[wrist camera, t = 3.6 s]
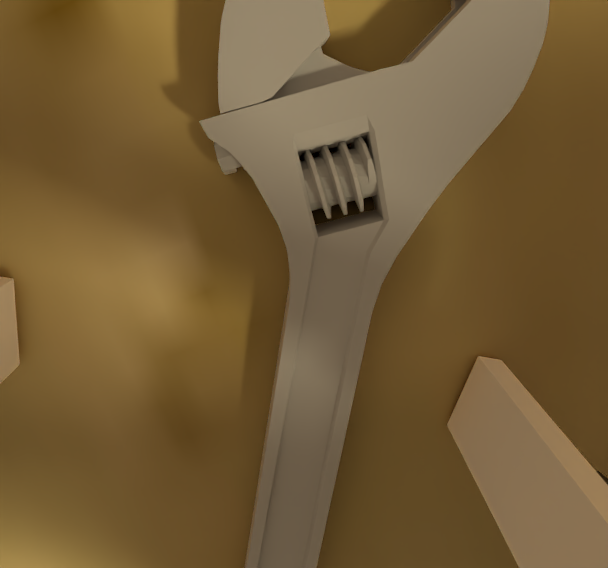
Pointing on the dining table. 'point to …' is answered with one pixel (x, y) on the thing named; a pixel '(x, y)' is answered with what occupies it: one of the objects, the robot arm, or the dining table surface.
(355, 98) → the adjustable wrench
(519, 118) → the dining table surface
